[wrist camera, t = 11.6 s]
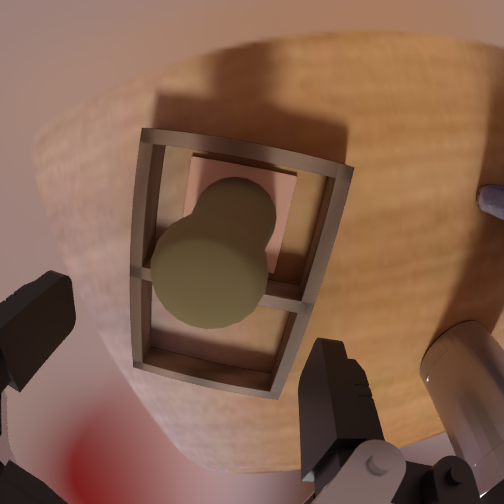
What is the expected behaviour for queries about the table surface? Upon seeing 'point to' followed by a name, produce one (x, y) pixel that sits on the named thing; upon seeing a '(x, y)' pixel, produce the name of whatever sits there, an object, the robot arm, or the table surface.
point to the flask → (491, 200)
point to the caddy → (276, 292)
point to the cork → (216, 255)
